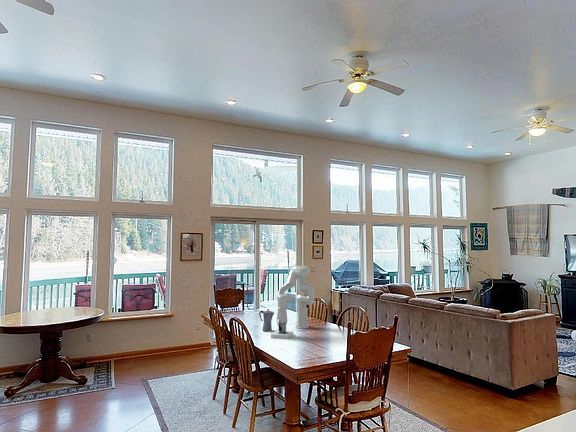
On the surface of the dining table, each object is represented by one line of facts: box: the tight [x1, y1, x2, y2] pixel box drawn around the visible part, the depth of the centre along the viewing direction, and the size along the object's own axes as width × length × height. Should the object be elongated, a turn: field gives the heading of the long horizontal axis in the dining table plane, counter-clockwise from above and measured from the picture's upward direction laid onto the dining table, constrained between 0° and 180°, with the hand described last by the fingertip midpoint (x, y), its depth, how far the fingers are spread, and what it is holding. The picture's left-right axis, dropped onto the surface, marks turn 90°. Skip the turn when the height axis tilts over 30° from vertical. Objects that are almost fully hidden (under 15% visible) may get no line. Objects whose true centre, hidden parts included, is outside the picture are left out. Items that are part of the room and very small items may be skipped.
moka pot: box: [258, 308, 275, 332], centre depth 356 cm, size 10×15×20 cm, turn 78°
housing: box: [270, 329, 294, 340], centre depth 333 cm, size 16×16×3 cm
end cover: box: [279, 322, 287, 334], centre depth 334 cm, size 6×6×11 cm
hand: (282, 330), depth 333 cm, fingers closed on end cover, 6 cm apart
